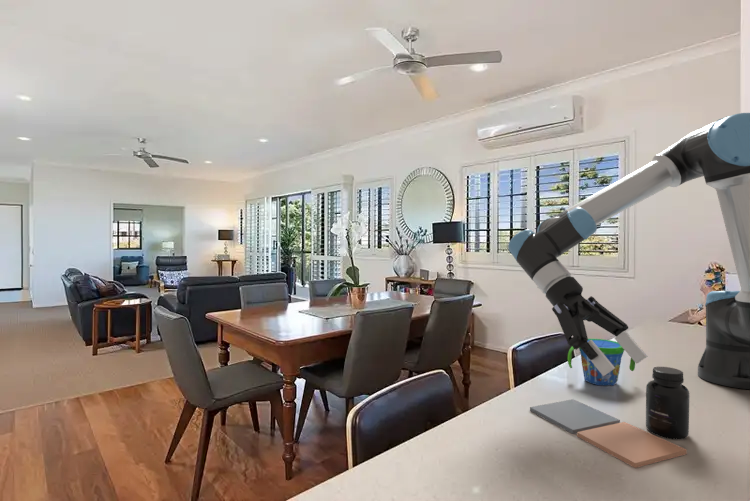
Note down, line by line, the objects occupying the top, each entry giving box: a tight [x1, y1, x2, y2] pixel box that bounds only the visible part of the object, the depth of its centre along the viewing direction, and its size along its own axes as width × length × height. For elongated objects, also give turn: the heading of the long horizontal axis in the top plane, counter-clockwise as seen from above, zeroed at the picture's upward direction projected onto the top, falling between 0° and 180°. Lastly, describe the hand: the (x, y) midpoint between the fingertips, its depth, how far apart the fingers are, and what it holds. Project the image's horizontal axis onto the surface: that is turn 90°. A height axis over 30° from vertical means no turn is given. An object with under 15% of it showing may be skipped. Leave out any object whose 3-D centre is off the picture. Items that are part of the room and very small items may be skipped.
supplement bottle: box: [645, 366, 691, 440], centre depth 81 cm, size 7×7×12 cm
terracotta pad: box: [576, 421, 688, 469], centre depth 77 cm, size 12×12×1 cm
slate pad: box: [529, 398, 621, 435], centre depth 89 cm, size 12×12×1 cm
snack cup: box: [567, 338, 636, 387], centre depth 110 cm, size 16×10×10 cm
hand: (626, 366), depth 86 cm, fingers open, 13 cm apart
